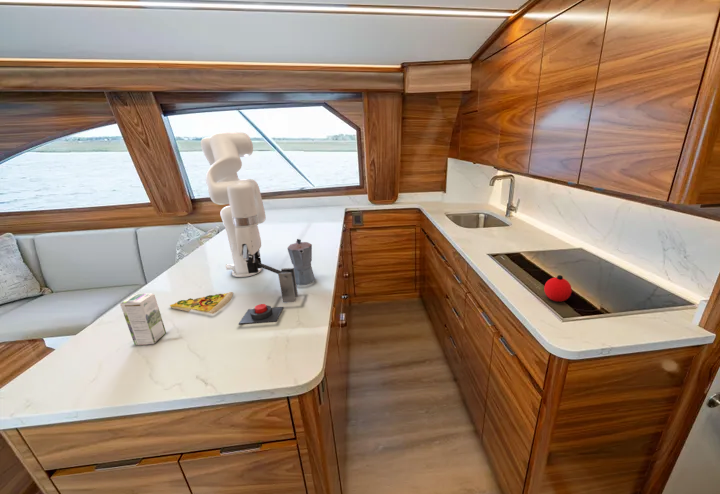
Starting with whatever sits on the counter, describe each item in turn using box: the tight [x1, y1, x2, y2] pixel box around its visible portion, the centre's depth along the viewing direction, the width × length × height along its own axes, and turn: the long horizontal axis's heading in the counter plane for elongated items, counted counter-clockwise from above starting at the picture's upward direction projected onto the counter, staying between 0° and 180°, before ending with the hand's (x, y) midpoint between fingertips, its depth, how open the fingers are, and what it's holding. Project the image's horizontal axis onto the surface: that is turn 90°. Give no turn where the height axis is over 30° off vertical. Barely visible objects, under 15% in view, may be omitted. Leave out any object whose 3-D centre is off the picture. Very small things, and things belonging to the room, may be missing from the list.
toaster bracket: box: [277, 267, 299, 303], centre depth 110 cm, size 10×9×13 cm
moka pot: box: [287, 238, 316, 286], centre depth 124 cm, size 10×15×20 cm, turn 28°
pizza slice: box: [169, 291, 234, 315], centre depth 110 cm, size 16×21×3 cm
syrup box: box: [119, 292, 167, 346], centre depth 89 cm, size 6×6×14 cm
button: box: [254, 303, 267, 314], centre depth 100 cm, size 4×4×2 cm
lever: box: [255, 258, 289, 275], centre depth 107 cm, size 15×3×3 cm, turn 97°
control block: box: [238, 304, 284, 326], centre depth 101 cm, size 12×9×4 cm
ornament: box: [543, 274, 573, 303], centre depth 109 cm, size 9×9×10 cm
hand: (255, 269), depth 107 cm, fingers open, 3 cm apart
